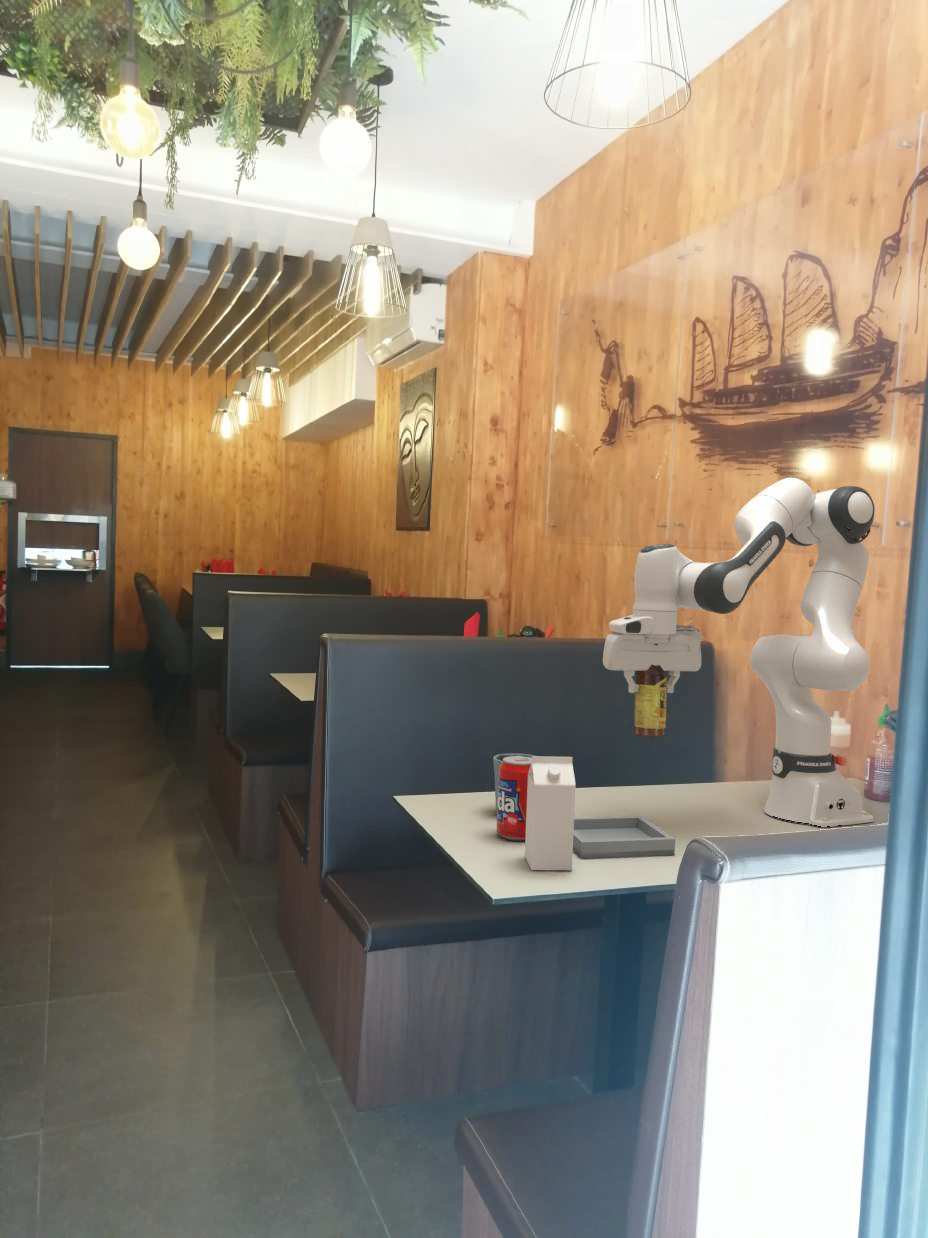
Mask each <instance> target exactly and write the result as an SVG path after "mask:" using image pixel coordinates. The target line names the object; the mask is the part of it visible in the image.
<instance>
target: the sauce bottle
mask: <svg viewBox="0 0 928 1238" xmlns="http://www.w3.org/2000/svg"><path fill="white" fill-rule="evenodd" d="M654 645H658V644H654ZM635 677H636V678H635V679H636V680H635V683H636V684H639V688H638V690H639V692H638V693H634V696H635V697H634V734H635V735H637V736H638V737H644V738H645V737H646V738H659V737H663V736H665V734H666V726H667V725H666V724H667V701H668V700H667V699H668V698H667V697H668V696H667V695H668V693H667V683H668V676H667V671H664V670H663V669H662V668H661V666H660V665H657V666H655V665H651V666H650V667H649V669H648V670H646V671H635Z"/></svg>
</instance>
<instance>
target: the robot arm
mask: <svg viewBox="0 0 928 1238" xmlns="http://www.w3.org/2000/svg"><path fill="white" fill-rule="evenodd" d="M875 510H876V509H875V503H874V501H873V499H872V496H871V495H870V494H869V492H868V491H867V490H866V489H865V488H863V487H859V486H854V485H850V486H849V485H848V486H847V485H846V486H841V487H838V488H835V489H828V490H824V491H820V492H817V493H815V494H814V492H813V489H812V488H811V487H810V485H808V483H806V482H805V481H804V480H802V479H801V478H797V477H786V478H782V479H779V480H778V481H776V482H775V483H772V484H771V485H769V486H767V487H766V488H765V489H763V490H762V491H760V492H759V493H757V494H756V495H755V496H754V497H752V498H751V499H750V500H749V501H748V502H746V504H744V505H743V506H742V507H741V509H740V510H739V511H738V512H737V514H736V516H735V519H734V530H735V531H734V532H735V533H736V536H737V538H738V540H739V541H740V543H741V544H742V545H743V547H741V548H740V550H738V552H737V553H736V554H735V555H734V556H733V557H732V558H730V559H728V560H725V561H718V562H700V561H699V562H697V561H694V560H692V559H690V558H688V557H686V555H684V554H683V553H681V551H679V548H678V547H677V545H674V544H670V543H661V544H654V545H653V544H652V545H648V546H645V547H643V548H641V549H640V550H639V552H638V555H637V557H636V561H635V567H634V580H633V589H634V595H635V596H634V597H635V598H634V599H635V600H634V603H633V606H632V614H629V615H627V616H624V617H620V618H617V619H614V620H611V621H610V622H608V630H609V631H610V633H609V634H607V636H606V638H605V641H604V647H603V655H602V664H603V666H604V668H605V669H606V670H609V671H623V676H624V678H625V680H626V682H627V684H628V693H630V694H635V693H638V692H639V690H638V688H639V684H636V682H635V680H634V679H633V677H634V676H635V673H636V672H637V671H646V670H648V669H649V667H650V666H651V665H655V666H657V665H660V666H661V668H662V669H663V670H664V671H665V672H668V675H669V679H668V680H667V694H674V692H675V690H674V688H675V685H676V683H677V682H678V681H679V678H680V677H681V675H680V674H681V672H698V671H699V670H700V669H701V667H702V650H701V644H702V643H701V642H702V631H700V629H698V628H697V627H696V626H695V625H681V624H678V608H680V609H688V610H696V611H697V610H698V611H705V612H707V611H708V612H710V613H715V614H720V615H726V614H730V613H732V612H734V611H735V610H736V609H738V608H739V607H740V605H741V604H742V602H743V601H744V600H745V598H746V596H747V594H748V592H749V590H750V588H751V587H752V585H753V583H754V582H756V580H757V579H758V578H759V577H760V575H762V573H764V571H765V570H766V569H767V568H768V567H769V565H771V564H772V562H773V561H774V559H776V557H777V556H778V555H779V554H780V553H781V551H782V549H783V548H784V546H785V544H786V540H787V541H788V542H789V543H790V544H793V545H794V546H798V547H799V546H800V547H809V546H813V545H817V559H816V561H815V564H814V565H813V568H812V570H811V572H810V575H809V578H808V580H807V583H806V586H805V589H804V591H803V594H802V598H801V600H800V602H799V603H800V604H799V606H800V610H801V614H802V616H803V618H805V620H807V621H808V622H809V623H810V624H812V625H813V631H812V634H811V635H809V636H808V635H807V636H805V635H797V634H796V635H795V634H785V633H780V634H774V635H766V636H765V635H764V636H761V637H760V638H759V639H758V640H757V641H756V642H754V645H753V647H752V649H751V652H750V664H751V668H752V670H753V672H754V674H755V675H756V676H757V677H758V678H759V679H760V680H761V681H762V682H763V683H764V685H765V686H766V688H767V690H768V692H769V694H770V697H771V699H772V702H773V706H774V711H775V746H774V748H772V749H773V750H772V761H771V768H772V769H771V770H772V778H771V784H770V789H769V792H768V796H767V800H766V803H765V805H764V808H763V812H764V813H765V814H767V815H769V816H770V817H773V816H775V817H778V818H777V819H779V818H783V819H788V820H794V821H798V822H805V823H810V824H814V825H817V826H816V827H818V826H821V827H820V828H828V827H827V826H830V827H831V828H832V827H839V826H838V825H842V826H849V825H857V824H866V823H872V822H874V816H873V815H872V814H871V813H870V812H868V811H866V810H865V809H863V799H862V795H861V792H860V791H859V789H858V788H857V787H856V786H855V785H853V784H852V783H851V781H849V780H848V779H847V778H845V776H843V775H842V774H841V773H840V772H839V771H838V770H837V766H836V765H838V766H840V767H844V766H846V765H847V762H848V761H847V758H846V757H845V756H842V755H839V754H837V755H834V754H833V753H831V737H832V736H831V735H832V718H831V716H830V714H829V713H828V712H827V710H826V709H824V708H823V707H822V706H820V705H819V704H818V703H817V702H816V700H815V698H814V696H813V695H812V690H811V689H816V690H824V691H829V692H842V691H854V690H858V688H860V687H861V686H862V685H863V684H864V683H865V681H866V680H867V678H868V676H869V672H870V659H869V657H868V654H867V652H866V651H865V649H864V647H863V646H861V644H860V643H859V642H858V641H857V639H856V637H855V633H854V627H853V626H854V625H853V622H854V618H855V613H856V609H857V606H858V603H859V599H860V597H861V594H862V591H863V587H864V585H865V580H866V577H867V572H868V567H869V559H870V552H869V549H868V546H867V545H866V544H865V543H864V542H863V541H865V540H866V538H868V536H869V535H870V533H871V527H872V525H873V523H874V519H875V512H876V511H875ZM654 644H658V645H654ZM775 817H774V818H775ZM810 824H809V825H810ZM814 825H813V826H814ZM830 827H829V828H830Z"/></svg>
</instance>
